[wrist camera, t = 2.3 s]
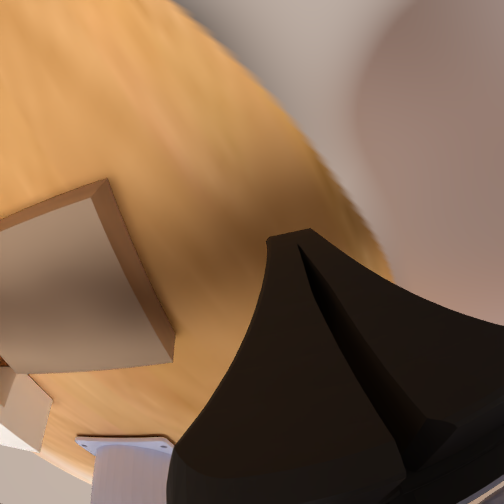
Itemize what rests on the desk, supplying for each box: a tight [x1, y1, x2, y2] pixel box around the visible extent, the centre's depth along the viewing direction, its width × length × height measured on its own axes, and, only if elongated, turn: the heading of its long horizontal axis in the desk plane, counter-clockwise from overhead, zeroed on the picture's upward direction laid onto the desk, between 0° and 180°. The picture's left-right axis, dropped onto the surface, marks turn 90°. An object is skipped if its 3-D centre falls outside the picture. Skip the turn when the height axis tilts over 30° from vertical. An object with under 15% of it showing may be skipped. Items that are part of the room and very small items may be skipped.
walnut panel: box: [0, 178, 175, 374], centre depth 10 cm, size 7×9×2 cm
